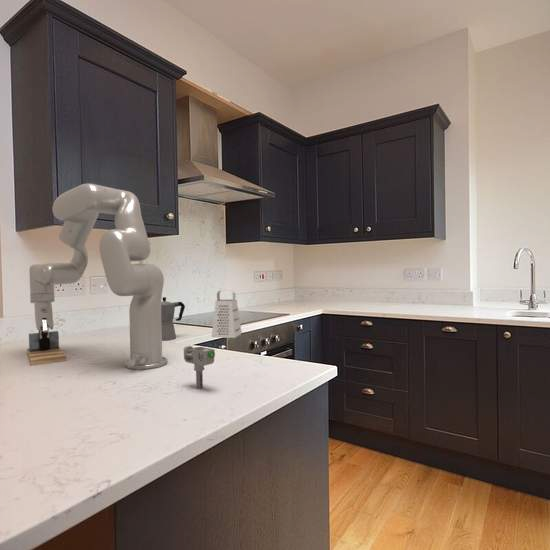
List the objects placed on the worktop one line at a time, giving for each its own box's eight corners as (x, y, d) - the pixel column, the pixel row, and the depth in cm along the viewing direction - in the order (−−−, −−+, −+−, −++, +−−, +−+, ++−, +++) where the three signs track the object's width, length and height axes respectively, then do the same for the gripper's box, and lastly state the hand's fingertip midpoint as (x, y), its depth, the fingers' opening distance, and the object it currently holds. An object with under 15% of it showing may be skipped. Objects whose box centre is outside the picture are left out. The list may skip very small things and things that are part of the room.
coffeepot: (151, 342, 158) (150, 298, 158) (147, 338, 167) (146, 297, 166) (188, 338, 165) (187, 296, 165) (182, 335, 174) (181, 295, 173)
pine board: (66, 360, 128) (66, 356, 128) (30, 365, 123) (30, 360, 123) (58, 348, 148) (57, 345, 148) (27, 352, 142) (27, 348, 142)
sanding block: (57, 347, 144) (57, 331, 144) (59, 348, 141) (58, 332, 141) (29, 350, 139) (28, 333, 139) (29, 352, 136) (29, 335, 135)
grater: (234, 337, 165) (233, 291, 165) (211, 337, 167) (210, 291, 167) (241, 333, 176) (240, 289, 175) (219, 333, 178) (218, 290, 177)
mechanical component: (191, 382, 101) (190, 344, 101) (217, 390, 94) (217, 349, 94) (182, 385, 99) (181, 346, 98) (208, 393, 92) (207, 351, 92)
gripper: (57, 299, 135) (58, 351, 135) (52, 296, 148) (53, 343, 149) (31, 300, 130) (33, 354, 131) (29, 297, 144) (30, 346, 144)
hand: (44, 348), depth 140 cm, fingers closed on sanding block, 4 cm apart
